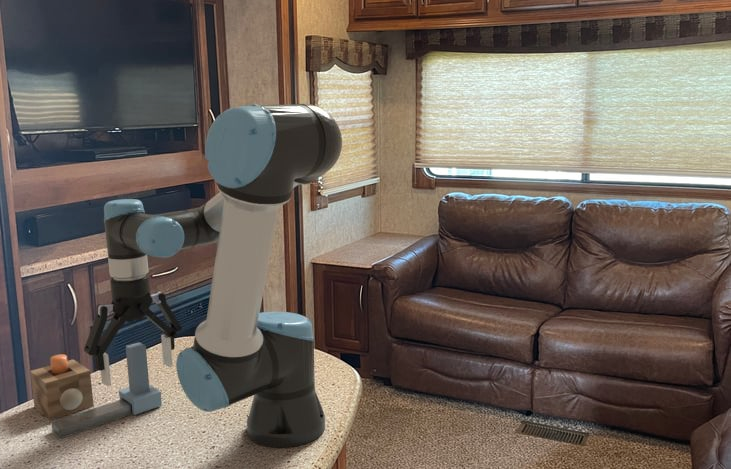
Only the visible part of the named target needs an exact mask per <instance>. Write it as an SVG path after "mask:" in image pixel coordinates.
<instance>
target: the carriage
mask: <svg viewBox="0 0 731 469" xmlns="http://www.w3.org/2000/svg"><path fill="white" fill-rule="evenodd" d="M125 353H126V354H125V355H126V365H127V377H128V385H129V386H128V387H125V388H123V389H119V390H118V396H119V400H122V399H125V400H126V401H128V402H129V403H131V404H132V412H133V414H132V415H134V416H136V415H139V414H142V413H144V412H147V411H151V410H153V409H156V408H159V407H161V406H163V404H162V402H163V400H162V391H161V390H159V389H158V388H156V387H154V386H153V385H151V384H150V378H149V369H148V368H149V367H148V366H149V365H148V356H147V355H148V353H147V345H146V344H144V343H141V342H135V343H132V344H127V345H125Z"/></svg>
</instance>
